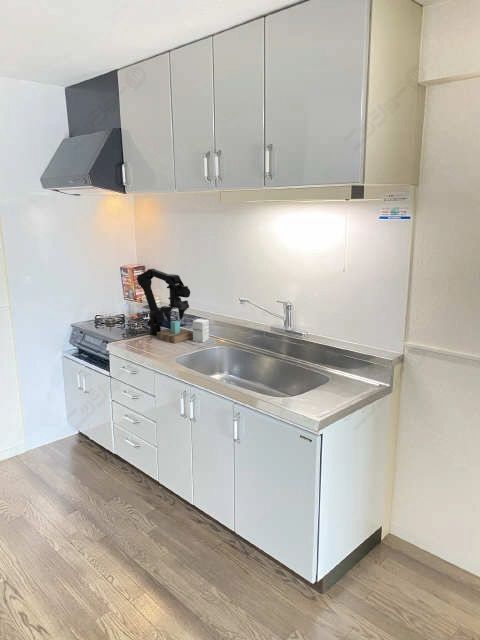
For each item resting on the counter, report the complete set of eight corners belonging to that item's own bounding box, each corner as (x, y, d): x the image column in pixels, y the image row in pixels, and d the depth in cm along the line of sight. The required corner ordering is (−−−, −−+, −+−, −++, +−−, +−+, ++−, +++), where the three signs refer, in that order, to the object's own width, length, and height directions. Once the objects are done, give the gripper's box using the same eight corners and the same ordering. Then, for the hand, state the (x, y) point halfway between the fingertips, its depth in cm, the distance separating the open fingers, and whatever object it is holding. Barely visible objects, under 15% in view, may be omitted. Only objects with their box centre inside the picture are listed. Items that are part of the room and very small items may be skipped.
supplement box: (192, 341, 289) (192, 320, 286) (199, 338, 296) (198, 318, 293) (202, 342, 286) (202, 322, 283) (209, 339, 292) (209, 319, 289)
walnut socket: (157, 338, 294) (157, 332, 294) (176, 333, 306) (176, 327, 305) (174, 343, 284) (174, 337, 283) (194, 338, 296) (194, 331, 295)
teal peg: (171, 337, 295) (170, 321, 293) (175, 336, 298) (175, 320, 296) (175, 338, 292) (174, 322, 290) (180, 337, 295) (179, 321, 293)
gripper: (171, 299, 277) (172, 326, 281) (194, 295, 291) (195, 320, 294) (159, 297, 284) (160, 323, 288) (182, 293, 298) (183, 317, 302)
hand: (175, 321), depth 293 cm, fingers open, 9 cm apart
